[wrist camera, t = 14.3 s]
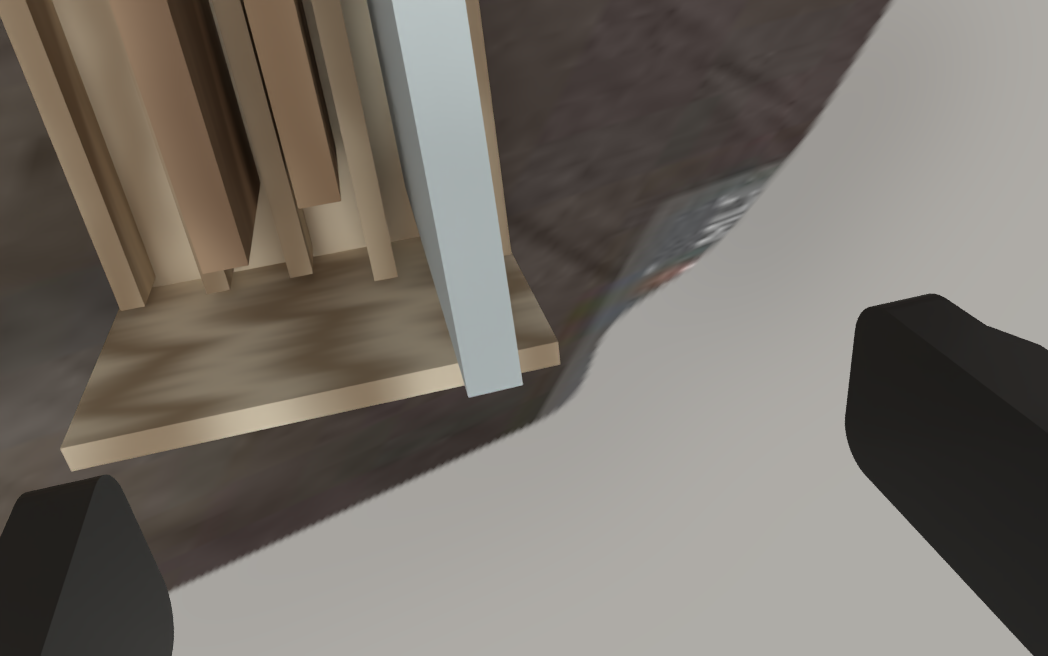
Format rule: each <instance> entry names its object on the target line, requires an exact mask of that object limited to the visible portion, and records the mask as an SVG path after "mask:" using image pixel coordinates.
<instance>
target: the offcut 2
mask: <svg viewBox="0 0 1048 656" xmlns="http://www.w3.org/2000/svg"><path fill="white" fill-rule="evenodd" d="M243 2H244V5H245V9H246V13H247V17H248V20H249V24H250V28H251V32H252V35H253V39H254V43H255V47H256V51H257V54H258V58H259V62H260V66H261V69H262V73H263V77H264V81H265V84H266V88H267V92H268V96H269V100H270V103H271V107H272V111H273V115H274V118H275V122H276V126H277V130H278V133H279V137H280V141H281V145H282V149H283V152H284V156H285V160H286V164H287V167H288V171H289V175H290V179H291V183H292V186H293V190H294V194H295V198H296V201H297V205H298V209H302V208H307V207H313V206H318V205H323V204H329V203H334V202H340V201H341V194H340V184H339V174H338V163H337V153H336V146H335V141H334V137H333V133H332V128H331V124H330V120H329V115H328V111H327V107H326V102H325V98H324V94H323V89H322V85H321V81H320V76H319V72H318V68H317V63H316V59H315V55H314V50H313V46H312V42H311V37H310V33H309V29H308V25H307V20H306V16H305V12H304V7H303V3H302V0H243Z"/></svg>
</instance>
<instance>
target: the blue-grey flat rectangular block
mask: <svg viewBox="0 0 1048 656" xmlns="http://www.w3.org/2000/svg"><path fill="white" fill-rule="evenodd" d="M367 5H368V10H369V15H370V20H371V24H372V29H373V34H374V39H375V44H376V49H377V53H378V58H379V63H380V68H381V73H382V77H383V82H384V87H385V92H386V97H387V102H388V106H389V111H390V116H391V121H392V126H393V131H394V135H395V140H396V145H397V150H398V155H399V159H400V164H401V169H402V174H403V179H404V184H405V188H406V191H407V195H408V198H409V201H410V205H411V208H412V211H413V215H414V218H415V221H416V225H417V228H418V231H419V235H420V238H421V241H422V245H423V248H424V251H425V255H426V258H427V261H428V265H429V268H430V271H431V275H432V278H433V281H434V285H435V288H436V291H437V295H438V298H439V301H440V305H441V308H442V311H443V315H444V318H445V321H446V325H447V328H448V331H449V335H450V338H451V341H452V345H453V348H454V351H455V355H456V358H457V361H458V365H459V368H460V371H461V375H462V378H463V381H464V385H465V388H466V391H467V395H468V398H469V397H474V396H478V395H482V394H487V393H491V392H495V391H499V390H504V389H508V388H512V387H517V386H521V385H523V382H522V375H521V369H520V362H519V355H518V349H517V342H516V335H515V329H514V322H513V315H512V309H511V302H510V295H509V289H508V282H507V275H506V269H505V262H504V255H503V249H502V242H501V235H500V229H499V222H498V215H497V209H496V202H495V195H494V189H493V182H492V175H491V169H490V162H489V156H488V149H487V142H486V136H485V129H484V122H483V116H482V109H481V102H480V96H479V89H478V82H477V76H476V69H475V62H474V56H473V49H472V42H471V36H470V29H469V22H468V16H467V9H466V2H465V0H367Z"/></svg>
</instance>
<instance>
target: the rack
mask: <svg viewBox="0 0 1048 656" xmlns="http://www.w3.org/2000/svg"><path fill="white" fill-rule="evenodd" d="M465 2H466V9H467V16H468V22H469V29H470V36H471V42H472V49H473V56H474V62H475V69H476V76H477V82H478V89H479V96H480V102H481V109H482V116H483V122H484V129H485V136H486V142H487V149H488V156H489V162H490V169H491V175H492V182H493V189H494V195H495V202H496V209H497V215H498V222H499V229H500V235H501V242H502V249H503V255H504V262H505V269H506V275H507V282H508V289H509V295H510V302H511V309H512V315H513V322H514V329H515V335H516V342H517V349H518V355H519V362H520V369H521V373H523V372H528V371H532V370H537V369H542V368H546V367H551V366H555V365H560V355H559V346H558V341H557V339H556V337H555V335H554V333H553V331H552V329H551V327H550V325H549V323H548V321H547V320H546V318H545V316H544V314H543V312H542V310H541V308H540V306H539V304H538V302H537V300H536V298H535V297H534V295H533V293H532V291H531V289H530V287H529V285H528V283H527V281H526V279H525V277H524V276H523V274H522V272H521V270H520V268H519V266H518V264H517V262H516V260H515V258H514V256H513V254H512V253H511V246H510V239H509V231H508V223H507V215H506V208H505V200H504V192H503V185H502V177H501V169H500V161H499V154H498V146H497V138H496V131H495V123H494V115H493V107H492V100H491V92H490V84H489V77H488V69H487V61H486V54H485V46H484V38H483V30H482V23H481V15H480V7H479V0H465ZM209 3H210V7H211V10H212V14H213V17H214V21H215V24H216V28H217V31H218V35H219V38H220V42H221V45H222V49H223V53H224V56H225V60H226V63H227V67H228V70H229V74H230V77H231V81H232V84H233V88H234V91H235V95H236V98H237V102H238V105H239V109H240V112H241V116H242V119H243V123H244V126H245V130H246V133H247V137H248V140H249V144H250V147H251V151H252V154H253V158H254V161H255V165H256V168H257V172H258V175H259V179H260V182H261V184H260V191H259V197H258V204H257V211H256V218H255V225H254V231H253V238H252V245H251V252H250V259H249V265H248V266H242V267H237V268H232V269H227V270H221V271H216V272H211V273H206V274H202V271H201V268H200V265H199V262H198V259H197V256H196V253H195V250H194V247H193V244H192V241H191V238H190V236H189V233H188V230H187V227H186V224H185V221H184V218H183V215H182V212H181V209H180V206H179V203H178V201H177V198H176V195H175V192H174V189H173V186H172V183H171V180H170V177H169V174H168V171H167V168H166V165H165V163H164V160H163V157H162V154H161V151H160V148H159V145H158V142H157V139H156V136H155V133H154V130H153V128H152V125H151V122H150V119H149V116H148V113H147V110H146V107H145V104H144V101H143V98H142V95H141V92H140V90H139V87H138V84H137V81H136V78H135V75H134V72H133V69H132V66H131V63H130V60H129V57H128V55H127V52H126V49H125V46H124V43H123V40H122V37H121V34H120V31H119V28H118V25H117V22H116V19H115V17H114V14H113V11H112V8H111V5H110V2H109V0H0V17H1V19H2V21H3V24H4V26H5V29H6V31H7V34H8V36H9V39H10V41H11V43H12V46H13V48H14V51H15V53H16V56H17V58H18V61H19V63H20V65H21V68H22V70H23V73H24V75H25V78H26V80H27V83H28V85H29V87H30V90H31V92H32V95H33V97H34V100H35V102H36V105H37V107H38V110H39V112H40V114H41V117H42V119H43V122H44V124H45V127H46V129H47V132H48V134H49V136H50V139H51V141H52V144H53V146H54V149H55V151H56V154H57V156H58V158H59V161H60V163H61V166H62V168H63V171H64V173H65V176H66V178H67V180H68V183H69V185H70V188H71V190H72V193H73V195H74V198H75V200H76V202H77V205H78V207H79V210H80V212H81V215H82V217H83V220H84V222H85V225H86V227H87V229H88V232H89V234H90V237H91V239H92V242H93V244H94V247H95V249H96V251H97V254H98V256H99V259H100V261H101V264H102V266H103V269H104V271H105V273H106V276H107V278H108V281H109V283H110V286H111V288H112V291H113V293H114V295H115V298H116V300H117V303H118V305H119V310H118V313H117V315H116V318H115V320H114V322H113V325H112V327H111V329H110V332H109V334H108V336H107V339H106V341H105V344H104V346H103V348H102V351H101V353H100V355H99V358H98V360H97V363H96V365H95V367H94V370H93V372H92V374H91V377H90V379H89V381H88V384H87V386H86V389H85V391H84V393H83V396H82V398H81V400H80V403H79V405H78V408H77V410H76V412H75V415H74V417H73V419H72V422H71V424H70V426H69V429H68V431H67V434H66V436H65V438H64V441H63V443H62V445H61V448H60V449H61V451H62V453H63V455H64V457H65V459H66V461H67V463H68V465H69V467H70V469H71V471H75V470H80V469H85V468H89V467H94V466H98V465H103V464H107V463H112V462H117V461H121V460H126V459H130V458H135V457H139V456H144V455H149V454H153V453H158V452H162V451H167V450H171V449H176V448H180V447H185V446H190V445H194V444H199V443H203V442H208V441H212V440H217V439H222V438H226V437H231V436H235V435H240V434H244V433H249V432H254V431H258V430H263V429H267V428H272V427H276V426H281V425H286V424H290V423H295V422H299V421H304V420H308V419H313V418H318V417H322V416H327V415H331V414H336V413H340V412H345V411H350V410H354V409H359V408H363V407H368V406H372V405H377V404H382V403H386V402H391V401H395V400H400V399H404V398H409V397H414V396H418V395H423V394H427V393H432V392H436V391H441V390H446V389H450V388H455V387H459V386H464V381H463V378H462V375H461V371H460V368H459V365H458V361H457V358H456V355H455V351H454V348H453V345H452V341H451V338H450V335H449V331H448V328H447V325H446V321H445V318H444V315H443V311H442V308H441V305H440V301H439V298H438V295H437V291H436V288H435V285H434V281H433V278H432V275H431V271H430V268H429V265H428V261H427V258H426V255H425V251H424V248H423V245H422V241H421V238H420V235H419V231H418V228H417V225H416V221H415V218H414V215H413V211H412V208H411V205H410V201H409V198H408V195H407V191H406V188H405V184H404V179H403V174H402V169H401V164H400V159H399V155H398V150H397V145H396V140H395V135H394V131H393V126H392V121H391V116H390V111H389V106H388V102H387V97H386V92H385V87H384V82H383V77H382V73H381V68H380V63H379V58H378V53H377V49H376V44H375V39H374V34H373V29H372V24H371V20H370V15H369V10H368V5H367V0H302V3H303V7H304V12H305V16H306V20H307V25H308V29H309V33H310V37H311V42H312V46H313V50H314V55H315V59H316V63H317V68H318V72H319V76H320V81H321V85H322V89H323V94H324V98H325V102H326V107H327V111H328V115H329V120H330V124H331V128H332V133H333V137H334V141H335V146H336V153H337V163H338V174H339V184H340V194H341V201H340V202H334V203H329V204H323V205H318V206H313V207H307V208H302V209H298V205H297V201H296V198H295V194H294V190H293V186H292V183H291V179H290V175H289V171H288V167H287V164H286V160H285V156H284V152H283V149H282V145H281V141H280V137H279V133H278V130H277V126H276V122H275V118H274V115H273V111H272V107H271V103H270V100H269V96H268V92H267V88H266V84H265V81H264V77H263V73H262V69H261V66H260V62H259V58H258V54H257V51H256V47H255V43H254V39H253V35H252V32H251V28H250V24H249V20H248V17H247V13H246V9H245V5H244V2H243V0H209Z"/></svg>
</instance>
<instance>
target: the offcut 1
mask: <svg viewBox="0 0 1048 656" xmlns="http://www.w3.org/2000/svg"><path fill="white" fill-rule="evenodd" d="M109 2H110V5H111V8H112V11H113V14H114V17H115V19H116V22H117V25H118V28H119V31H120V34H121V37H122V40H123V43H124V46H125V49H126V52H127V55H128V57H129V60H130V63H131V66H132V69H133V72H134V75H135V78H136V81H137V84H138V87H139V90H140V92H141V95H142V98H143V101H144V104H145V107H146V110H147V113H148V116H149V119H150V122H151V125H152V128H153V130H154V133H155V136H156V139H157V142H158V145H159V148H160V151H161V154H162V157H163V160H164V163H165V165H166V168H167V171H168V174H169V177H170V180H171V183H172V186H173V189H174V192H175V195H176V198H177V201H178V203H179V206H180V209H181V212H182V215H183V218H184V221H185V224H186V227H187V230H188V233H189V236H190V238H191V241H192V244H193V247H194V250H195V253H196V256H197V259H198V262H199V265H200V268H201V271H202V274H206V273H211V272H216V271H221V270H227V269H232V268H237V267H242V266H248V265H249V259H250V252H251V245H252V238H253V231H254V225H255V218H256V211H257V204H258V197H259V191H260V184H261V182H260V179H259V175H258V172H257V168H256V165H255V161H254V158H253V154H252V151H251V147H250V144H249V140H248V137H247V133H246V130H245V126H244V123H243V119H242V116H241V112H240V109H239V105H238V102H237V98H236V95H235V91H234V88H233V84H232V81H231V77H230V74H229V70H228V67H227V63H226V60H225V56H224V53H223V49H222V45H221V42H220V38H219V35H218V31H217V28H216V24H215V21H214V17H213V14H212V10H211V7H210V3H209V0H109Z"/></svg>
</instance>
